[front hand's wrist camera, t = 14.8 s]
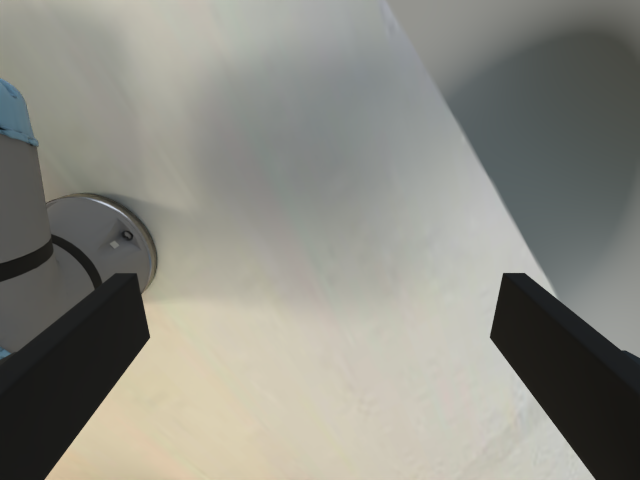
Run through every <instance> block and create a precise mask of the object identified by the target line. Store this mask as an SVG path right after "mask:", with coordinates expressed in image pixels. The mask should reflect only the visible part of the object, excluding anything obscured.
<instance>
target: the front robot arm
mask: <svg viewBox="0 0 640 480" xmlns="http://www.w3.org/2000/svg"><path fill="white" fill-rule="evenodd" d="M36 146H37V147H38V146H39V144H38V141H37V140H36V139H35V138H34V135H33V131H32V127H31V123H30V119H29V115H28V110H27V106H26V103H25V100H24V98H23V96H22V95H21V94H20V92H19V91H18V90H17V89H16V88H15V87H14V86H13V85H11V84H10V83H8V82H7V81H5V80H3V79H1V78H0V480H44V479H45V478H46V477H47V475H48V474H49V473H50V471H51V470H52V469H53V467H54V466H55V465H56V463H57V462H58V461H59V459H60V458H61V457H62V455H63V454H64V453H65V451H66V450H67V449H68V447H69V446H70V445H71V443H72V442H73V440H74V439H75V438H76V436H77V435H78V434H79V432H80V431H81V430H82V428H83V427H84V426H85V424H86V423H87V422H88V420H89V419H90V418H91V416H92V415H93V414H94V412H95V411H96V410H97V408H98V407H99V406H100V404H101V403H102V401H103V400H104V399H105V397H106V396H107V395H108V393H109V392H110V391H111V389H112V388H113V387H114V385H115V384H116V383H117V381H118V380H119V379H120V377H121V376H122V375H123V373H124V372H125V371H126V369H127V368H128V367H129V365H130V364H131V363H132V361H133V360H134V358H135V357H136V356H137V354H138V353H139V352H140V350H141V349H142V348H143V346H144V345H145V344H146V342H147V341H148V340H149V338H150V334H149V330H148V325H147V320H146V315H145V310H144V305H143V301H142V296H141V294H142V293H143V292H144V291H145V290H146V289H147V288H148V286H149V285H150V283H151V282H152V280H153V278H154V275H155V272H156V265H157V256H156V250H155V246H154V243H153V241H152V238H151V236H150V234H149V232H148V231H147V229H146V228H145V226H144V225H143V224H142V222H141V221H140V220H139V219H138V218H137V217H136V216H135V215H134V214H133V213H132V212H130V211H129V210H128V209H127V208H125V207H124V206H122V205H120V204H119V203H117V202H115V201H113V200H110V199H108V198H105V197H102V196H98V195H93V194H83V193H82V194H71V195H67V196H64V197H61V198H58V199H55V200H52V201H49V202H47V203H46V202H45V196H44V190H43V184H42V178H41V171H40V165H39V159H38V153H37V147H36ZM490 338H491V340H492V341H493V342H494V344H495V345H496V346H497V348H498V349H499V350H500V352H501V353H502V354H503V356H504V357H505V358H506V360H507V361H508V363H509V364H510V365H511V367H512V368H513V369H514V371H515V372H516V373H517V375H518V376H519V377H520V379H521V380H522V381H523V383H524V384H525V385H526V387H527V388H528V389H529V391H530V392H531V393H532V395H533V396H534V397H535V399H536V400H537V401H538V403H539V404H540V406H541V407H542V408H543V410H544V411H545V412H546V414H547V415H548V416H549V418H550V419H551V420H552V422H553V423H554V424H555V426H556V427H557V428H558V430H559V431H560V432H561V434H562V435H563V436H564V438H565V439H566V440H567V442H568V443H569V445H570V446H571V447H572V449H573V450H574V451H575V453H576V454H577V455H578V457H579V458H580V459H581V461H582V462H583V463H584V465H585V466H586V467H587V469H588V470H589V471H590V473H591V474H592V475H593V477H594V478H595V479H596V480H640V358H639V357H637V356H635V355H633V354H631V353H629V352H627V351H621V350H620V349H619V348H617V347H616V346H615V345H614V344H612V343H611V342H610V341H609V340H607V339H606V338H605V337H604V336H602V335H601V334H600V333H599V332H597V331H596V330H595V329H594V328H592V327H591V326H590V325H589V324H587V323H586V322H585V321H584V320H582V319H581V318H580V317H579V316H577V315H576V314H575V313H574V312H572V311H571V310H570V309H569V308H567V307H566V306H565V305H564V304H562V303H561V302H560V301H559V300H557V299H556V298H555V297H554V296H552V295H551V294H550V293H549V292H548V291H546V290H545V289H544V288H543V287H541V286H540V285H539V284H538V283H536V282H535V281H534V280H533V279H531V278H530V277H529V276H528V275H526V274H525V273H503V276H502V281H501V286H500V291H499V296H498V301H497V305H496V310H495V315H494V320H493V325H492V330H491V334H490Z"/></svg>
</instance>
